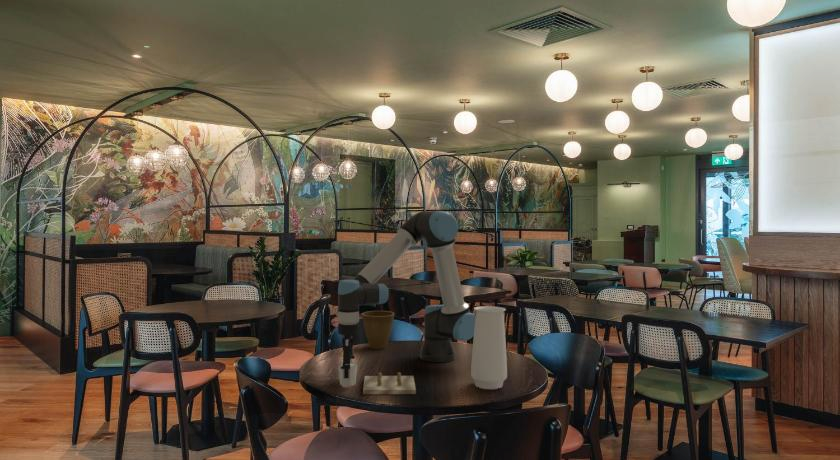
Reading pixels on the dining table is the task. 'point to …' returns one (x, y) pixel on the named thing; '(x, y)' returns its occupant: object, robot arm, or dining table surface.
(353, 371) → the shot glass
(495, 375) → the vase
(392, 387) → the pin board
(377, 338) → the plant pot
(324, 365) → the dining table surface
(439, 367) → the dining table surface
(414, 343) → the dining table surface
